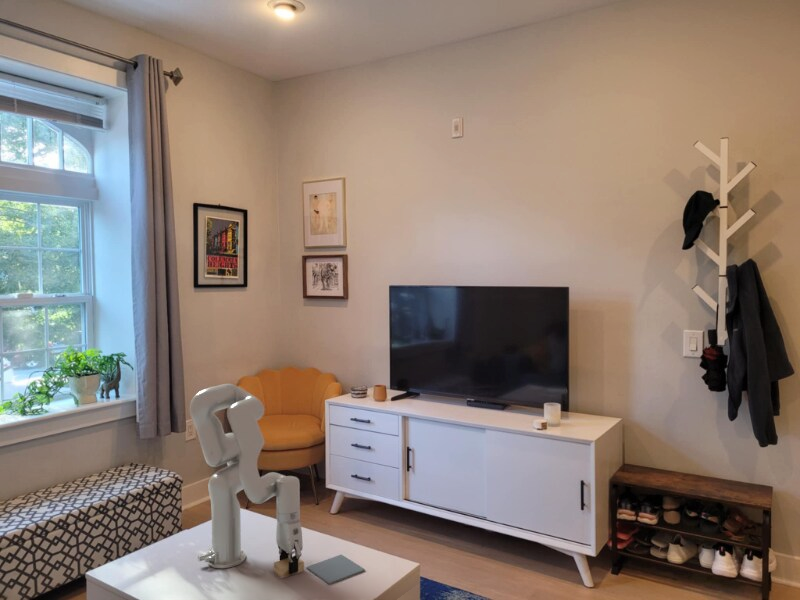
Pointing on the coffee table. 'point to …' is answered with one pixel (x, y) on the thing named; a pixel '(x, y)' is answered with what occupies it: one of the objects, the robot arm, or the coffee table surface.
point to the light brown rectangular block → (286, 567)
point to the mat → (335, 569)
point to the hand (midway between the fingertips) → (288, 568)
